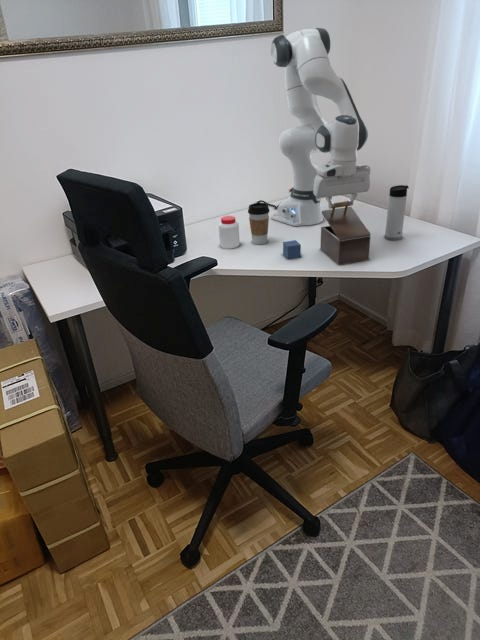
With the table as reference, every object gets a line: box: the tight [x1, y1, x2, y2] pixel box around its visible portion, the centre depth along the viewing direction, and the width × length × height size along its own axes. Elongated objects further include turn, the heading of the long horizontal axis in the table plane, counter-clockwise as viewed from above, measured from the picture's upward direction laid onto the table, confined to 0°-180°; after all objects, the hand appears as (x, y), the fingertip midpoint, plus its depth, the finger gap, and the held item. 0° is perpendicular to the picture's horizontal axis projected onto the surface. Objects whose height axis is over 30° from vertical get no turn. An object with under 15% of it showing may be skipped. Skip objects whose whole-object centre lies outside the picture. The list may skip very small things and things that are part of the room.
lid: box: [321, 200, 372, 241], centre depth 172 cm, size 16×12×5 cm
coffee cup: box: [247, 202, 271, 245], centre depth 191 cm, size 8×8×15 cm
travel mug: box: [384, 184, 409, 241], centre depth 186 cm, size 6×7×20 cm
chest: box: [320, 225, 371, 266], centre depth 177 cm, size 16×12×9 cm
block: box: [282, 239, 302, 260], centre depth 180 cm, size 5×5×5 cm
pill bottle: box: [218, 215, 241, 250], centre depth 191 cm, size 8×8×11 cm
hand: (340, 206), depth 175 cm, fingers closed on lid, 6 cm apart
